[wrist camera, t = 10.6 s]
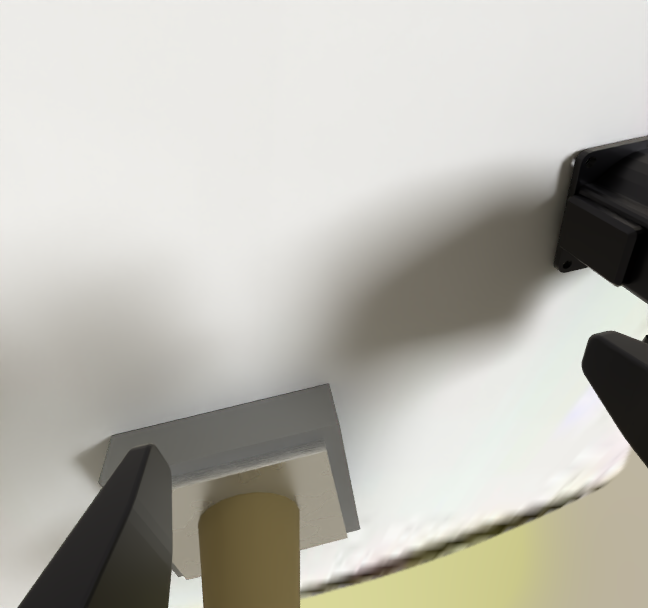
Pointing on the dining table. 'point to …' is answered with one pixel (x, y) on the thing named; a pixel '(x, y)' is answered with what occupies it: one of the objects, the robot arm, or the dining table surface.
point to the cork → (251, 552)
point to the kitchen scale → (252, 466)
